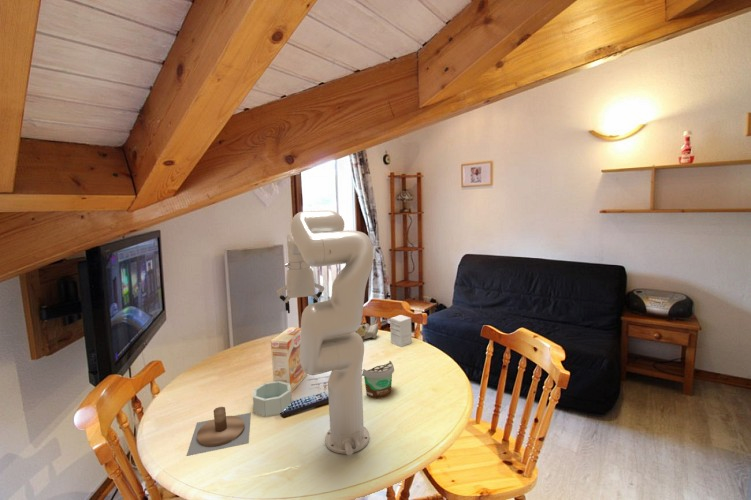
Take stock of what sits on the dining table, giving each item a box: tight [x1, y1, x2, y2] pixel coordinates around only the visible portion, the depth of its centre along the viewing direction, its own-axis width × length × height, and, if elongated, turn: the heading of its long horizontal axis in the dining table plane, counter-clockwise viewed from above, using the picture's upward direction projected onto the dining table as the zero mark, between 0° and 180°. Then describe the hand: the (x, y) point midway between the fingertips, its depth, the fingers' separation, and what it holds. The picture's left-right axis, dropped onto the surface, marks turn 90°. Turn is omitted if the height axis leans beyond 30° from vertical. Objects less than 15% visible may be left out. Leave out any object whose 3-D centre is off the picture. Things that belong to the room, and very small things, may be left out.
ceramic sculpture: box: [355, 322, 379, 341], centre depth 180 cm, size 11×9×15 cm
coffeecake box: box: [270, 326, 308, 393], centre depth 137 cm, size 15×7×20 cm, turn 167°
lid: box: [197, 406, 245, 447], centre depth 107 cm, size 13×13×7 cm
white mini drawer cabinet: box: [389, 314, 413, 348], centre depth 173 cm, size 7×7×13 cm
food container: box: [362, 360, 395, 399], centre depth 127 cm, size 12×6×10 cm, turn 123°
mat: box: [185, 412, 252, 457], centre depth 108 cm, size 16×16×1 cm
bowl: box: [252, 381, 293, 418], centre depth 121 cm, size 12×12×6 cm
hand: (302, 310), depth 135 cm, fingers open, 9 cm apart
